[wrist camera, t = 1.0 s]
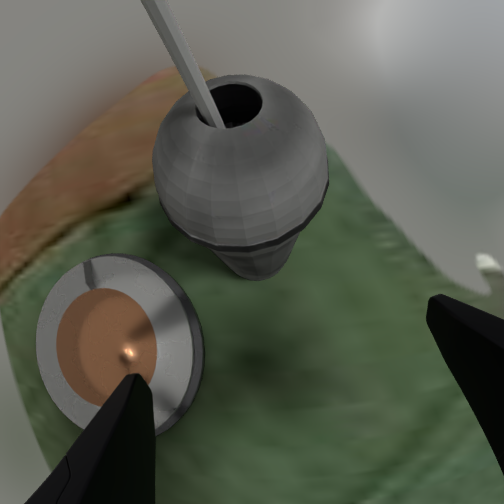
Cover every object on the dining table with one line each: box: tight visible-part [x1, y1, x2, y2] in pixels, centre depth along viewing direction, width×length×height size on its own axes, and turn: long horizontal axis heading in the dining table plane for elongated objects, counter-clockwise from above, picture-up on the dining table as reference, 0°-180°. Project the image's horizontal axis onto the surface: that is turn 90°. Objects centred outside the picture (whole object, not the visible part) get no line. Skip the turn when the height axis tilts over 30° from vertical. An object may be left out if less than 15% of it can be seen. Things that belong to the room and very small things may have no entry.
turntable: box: [36, 256, 195, 429], centre depth 21 cm, size 14×14×1 cm
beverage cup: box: [141, 0, 329, 281], centre depth 14 cm, size 7×7×20 cm
